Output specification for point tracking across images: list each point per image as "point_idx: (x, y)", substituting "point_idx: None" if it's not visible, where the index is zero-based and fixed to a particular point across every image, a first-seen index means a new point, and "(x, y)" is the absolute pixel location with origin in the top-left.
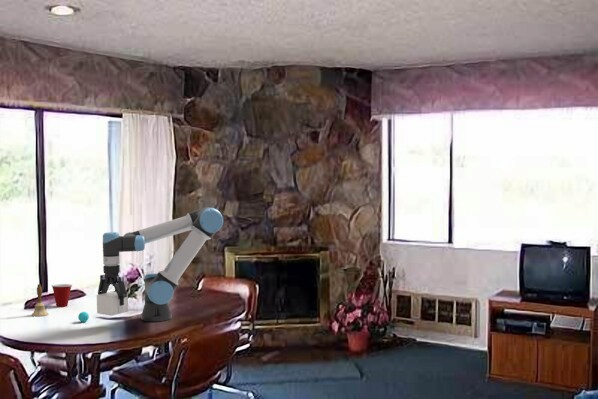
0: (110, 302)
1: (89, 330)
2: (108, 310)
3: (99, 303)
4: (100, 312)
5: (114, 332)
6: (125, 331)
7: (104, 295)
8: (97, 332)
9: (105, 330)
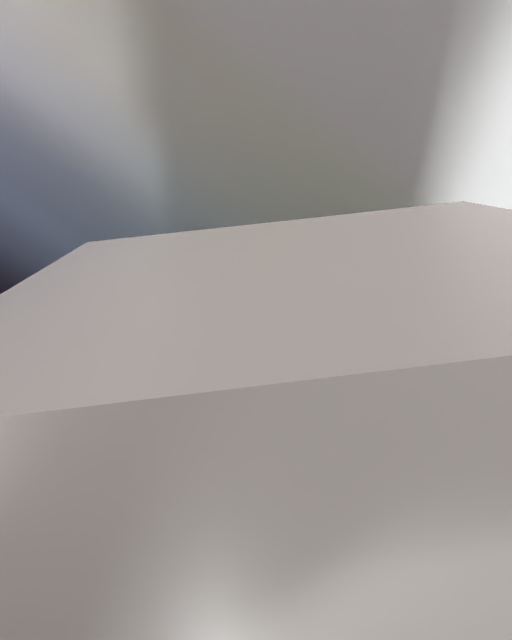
0: (12, 319)
1: (353, 32)
2: (162, 248)
3: (505, 239)
4: (386, 214)
5: (47, 176)
6: (11, 284)
7: (496, 465)
8: (189, 32)
9: (206, 168)
